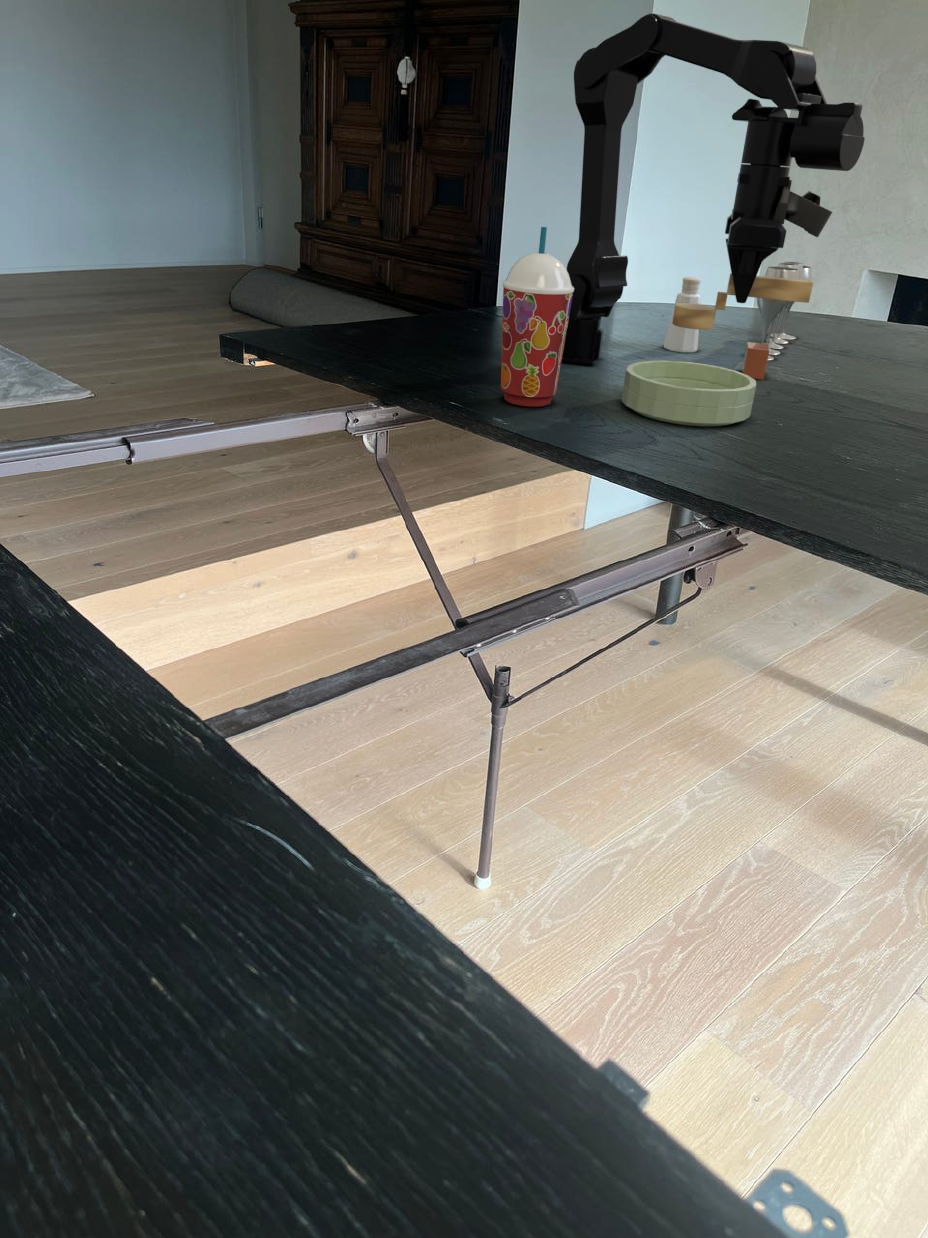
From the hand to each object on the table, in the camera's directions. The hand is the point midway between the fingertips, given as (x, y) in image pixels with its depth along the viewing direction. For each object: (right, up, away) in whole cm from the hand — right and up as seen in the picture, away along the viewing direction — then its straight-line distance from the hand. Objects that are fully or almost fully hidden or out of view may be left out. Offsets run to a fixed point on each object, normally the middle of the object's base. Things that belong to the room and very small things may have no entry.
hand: (740, 301), depth 121 cm
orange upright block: (+7, -4, +20) cm, 21 cm away
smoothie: (-27, -14, -3) cm, 31 cm away
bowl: (-8, -14, -2) cm, 16 cm away
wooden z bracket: (0, -3, +2) cm, 4 cm away
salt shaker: (0, +3, +34) cm, 34 cm away
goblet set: (+17, +6, +42) cm, 46 cm away
